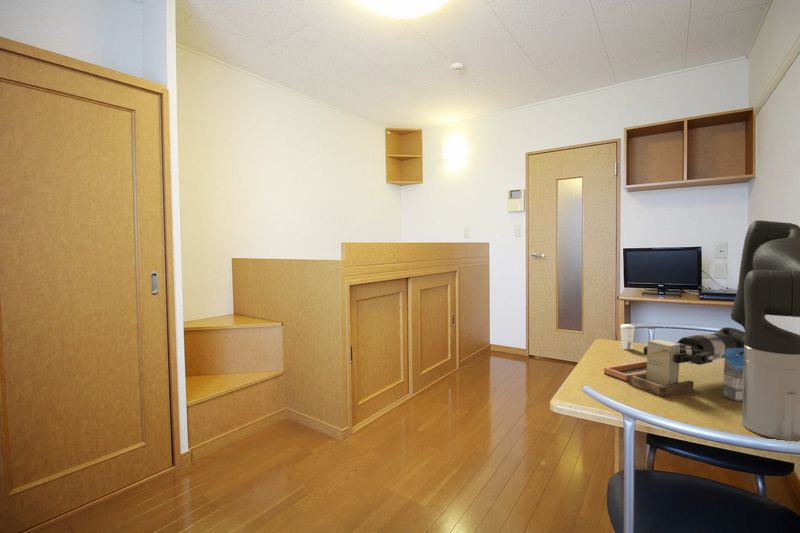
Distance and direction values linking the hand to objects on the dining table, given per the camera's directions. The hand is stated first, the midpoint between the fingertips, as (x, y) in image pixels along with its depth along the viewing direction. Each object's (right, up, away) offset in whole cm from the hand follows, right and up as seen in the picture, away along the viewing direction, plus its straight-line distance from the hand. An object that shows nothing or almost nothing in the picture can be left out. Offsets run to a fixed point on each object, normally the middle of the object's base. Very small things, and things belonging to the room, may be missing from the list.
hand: (659, 354), depth 101 cm
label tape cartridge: (+16, -9, -8) cm, 20 cm away
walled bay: (+1, -9, +1) cm, 9 cm away
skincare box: (+1, -9, +1) cm, 9 cm away
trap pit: (+1, -8, +12) cm, 14 cm away
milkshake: (+15, -7, +38) cm, 41 cm away
